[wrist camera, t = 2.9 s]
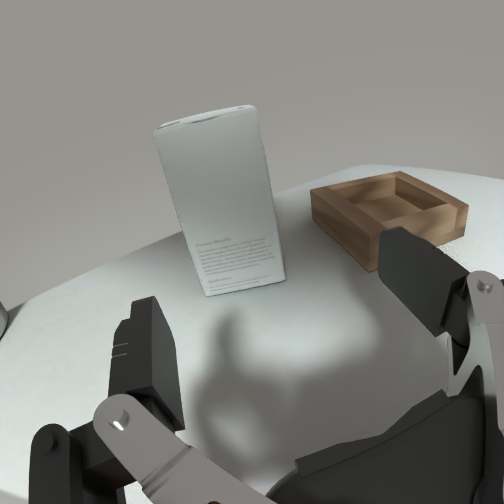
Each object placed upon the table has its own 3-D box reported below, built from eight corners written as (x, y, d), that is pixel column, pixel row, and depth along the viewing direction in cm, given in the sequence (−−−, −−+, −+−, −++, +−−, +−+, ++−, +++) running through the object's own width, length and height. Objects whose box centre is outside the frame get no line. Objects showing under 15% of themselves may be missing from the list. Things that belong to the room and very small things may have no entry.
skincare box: (276, 252, 25) (252, 101, 19) (288, 285, 21) (262, 105, 15) (203, 267, 25) (163, 121, 19) (201, 302, 21) (150, 129, 15)
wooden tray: (368, 272, 21) (370, 235, 19) (312, 218, 29) (309, 189, 28) (463, 235, 22) (468, 205, 21) (399, 196, 31) (400, 171, 29)
